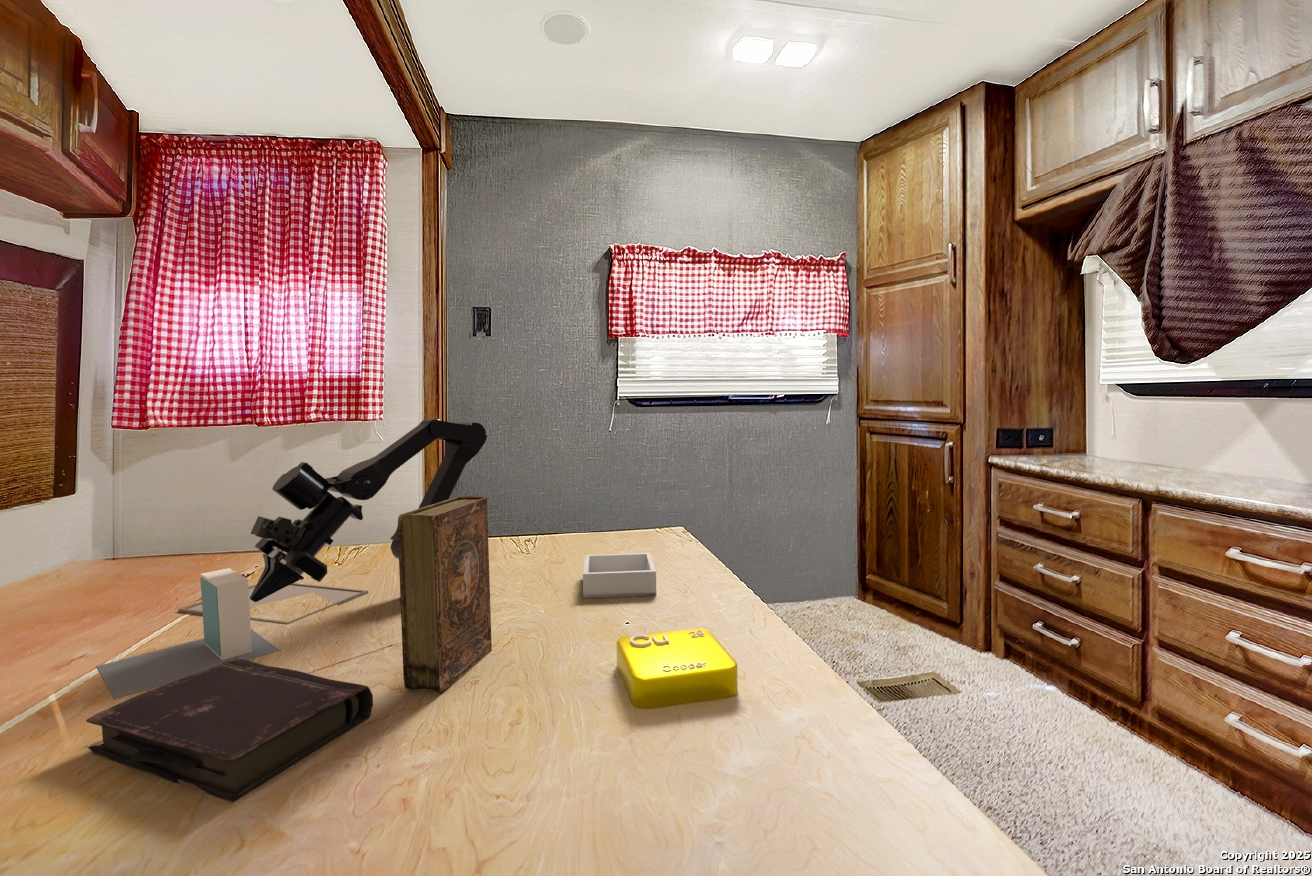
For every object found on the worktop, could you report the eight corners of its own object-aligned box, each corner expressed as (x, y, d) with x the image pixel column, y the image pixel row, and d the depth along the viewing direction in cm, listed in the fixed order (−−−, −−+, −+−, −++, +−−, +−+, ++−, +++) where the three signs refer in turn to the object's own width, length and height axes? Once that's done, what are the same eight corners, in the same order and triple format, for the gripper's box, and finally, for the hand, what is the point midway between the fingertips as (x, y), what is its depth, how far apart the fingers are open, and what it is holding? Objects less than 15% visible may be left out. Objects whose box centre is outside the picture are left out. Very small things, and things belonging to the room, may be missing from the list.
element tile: (634, 713, 76) (633, 677, 76) (614, 663, 91) (614, 633, 90) (742, 698, 80) (742, 664, 79) (707, 652, 94) (706, 623, 94)
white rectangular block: (233, 636, 102) (229, 568, 101) (252, 651, 95) (247, 579, 94) (203, 644, 98) (199, 573, 98) (221, 660, 92) (216, 585, 91)
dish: (650, 574, 136) (650, 552, 136) (656, 595, 121) (656, 571, 121) (585, 576, 135) (585, 555, 135) (583, 598, 120) (582, 574, 120)
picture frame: (178, 614, 115) (287, 629, 107) (178, 609, 115) (287, 623, 107) (268, 584, 134) (368, 595, 125) (268, 580, 134) (368, 590, 125)
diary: (243, 686, 85) (241, 652, 85) (374, 718, 76) (372, 680, 76) (80, 760, 68) (76, 718, 68) (224, 813, 59) (221, 764, 59)
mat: (248, 629, 106) (248, 627, 106) (280, 652, 96) (279, 650, 96) (96, 668, 91) (96, 666, 91) (114, 702, 80) (114, 699, 80)
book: (465, 644, 98) (459, 495, 96) (495, 647, 97) (490, 496, 95) (404, 693, 82) (396, 515, 80) (439, 696, 81) (432, 516, 79)
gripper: (265, 493, 108) (194, 565, 101) (303, 503, 96) (226, 586, 89) (313, 528, 115) (250, 598, 107) (355, 542, 103) (287, 622, 95)
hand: (252, 600), depth 99 cm, fingers closed
